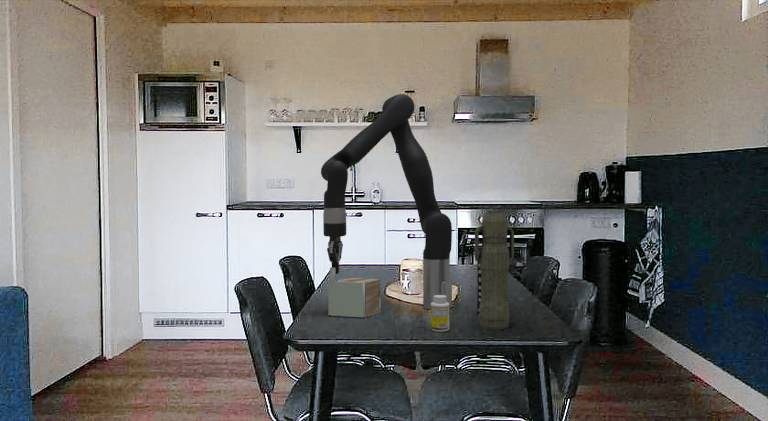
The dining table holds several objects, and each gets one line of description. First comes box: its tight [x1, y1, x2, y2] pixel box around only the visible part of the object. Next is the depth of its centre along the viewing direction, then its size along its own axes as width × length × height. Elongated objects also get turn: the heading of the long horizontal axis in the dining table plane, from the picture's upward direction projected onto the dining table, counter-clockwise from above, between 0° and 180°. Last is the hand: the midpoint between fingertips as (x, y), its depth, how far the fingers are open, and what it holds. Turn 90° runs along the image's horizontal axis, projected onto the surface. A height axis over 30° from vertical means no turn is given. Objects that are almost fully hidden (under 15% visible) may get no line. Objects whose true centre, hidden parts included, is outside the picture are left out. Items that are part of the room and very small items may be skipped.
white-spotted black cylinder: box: [476, 253, 481, 318], centre depth 216 cm, size 8×8×20 cm
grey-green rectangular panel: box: [327, 266, 366, 318], centre depth 215 cm, size 12×2×16 cm, turn 74°
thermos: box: [474, 210, 515, 330], centre depth 200 cm, size 9×12×35 cm
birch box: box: [336, 276, 382, 318], centre depth 221 cm, size 12×10×11 cm
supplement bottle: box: [430, 295, 451, 333], centre depth 196 cm, size 6×6×10 cm
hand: (335, 273), depth 219 cm, fingers closed
